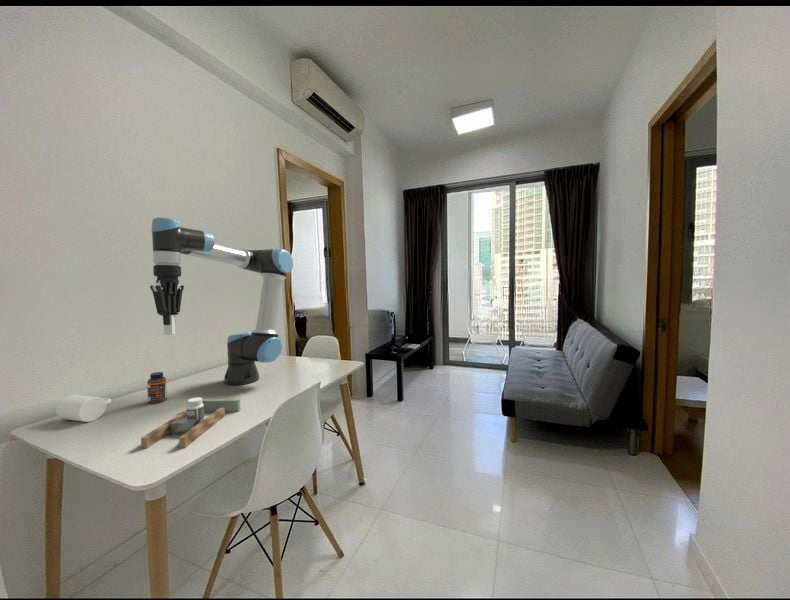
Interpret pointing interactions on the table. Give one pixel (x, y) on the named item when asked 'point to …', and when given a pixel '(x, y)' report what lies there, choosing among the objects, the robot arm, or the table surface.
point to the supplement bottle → (156, 388)
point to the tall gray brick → (183, 425)
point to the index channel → (188, 436)
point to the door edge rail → (221, 405)
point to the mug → (82, 408)
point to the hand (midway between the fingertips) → (169, 334)
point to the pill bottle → (195, 409)
